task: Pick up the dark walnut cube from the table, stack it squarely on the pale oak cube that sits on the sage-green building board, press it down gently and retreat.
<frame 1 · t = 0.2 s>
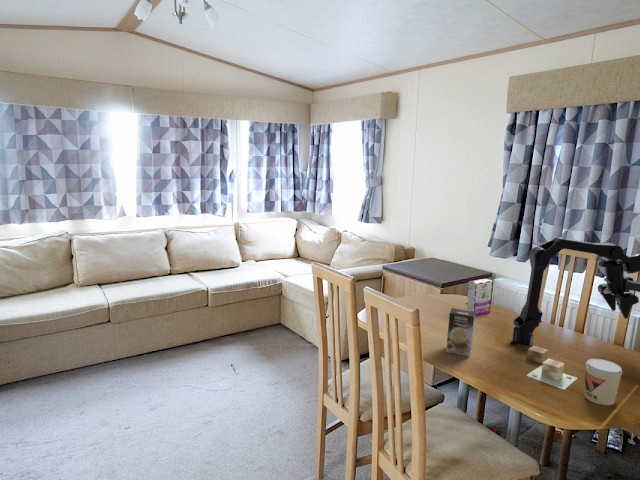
hand: (619, 314, 169), 15 cm above the table, tool pointing down, fingers open, 9 cm apart
coffee box: (458, 352, 168), on the table
candy bar box: (477, 313, 212), on the table
cream tub with lid: (598, 401, 135), on the table
walnut block: (536, 362, 161), on the table
oak block: (551, 376, 148), point 1 cm above the table, touching building board
building board: (551, 379, 148), on the table
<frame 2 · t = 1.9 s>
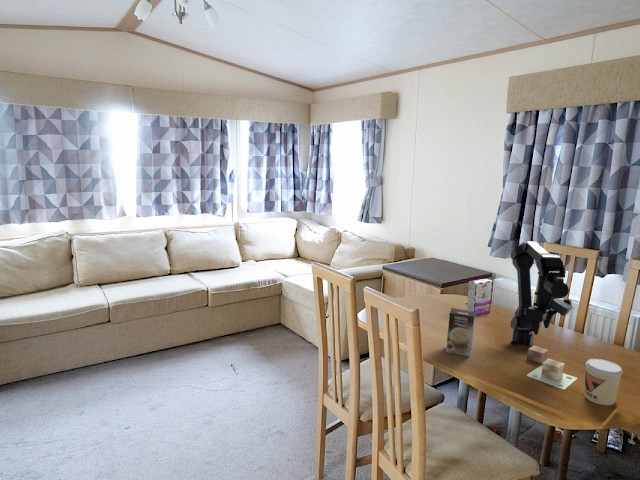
hand: (541, 331, 159), 12 cm above the table, tool pointing down, fingers open, 9 cm apart
nothing on the table moved.
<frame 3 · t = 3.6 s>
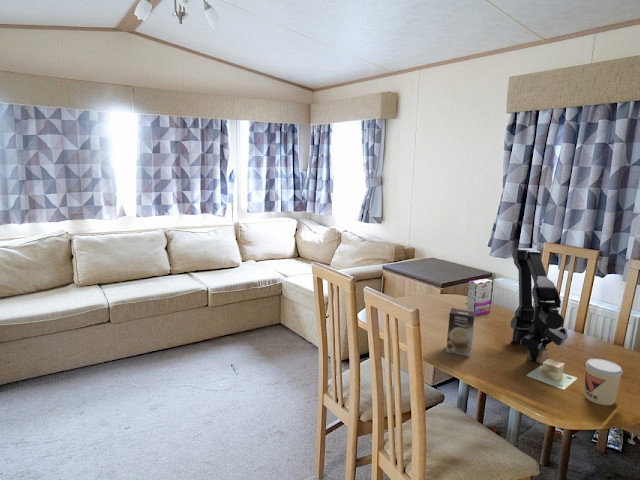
hand: (537, 359, 161), 1 cm above the table, tool pointing down, fingers closed on walnut block, 5 cm apart
walnut block: (536, 361, 161), on the table, touching gripper
everything else where it was.
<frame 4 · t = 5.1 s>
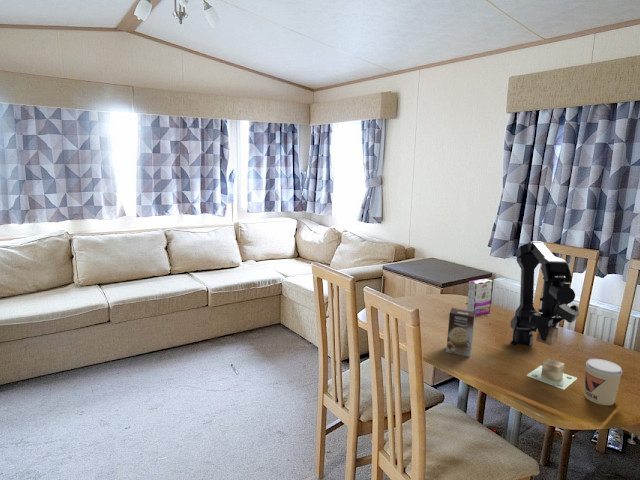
hand: (546, 338, 153), 12 cm above the table, tool pointing down, fingers closed on walnut block, 5 cm apart
walnut block: (546, 341, 153), point 11 cm above the table, touching gripper
everything else where it was.
when the fingers open (8 cm above the table, at t = 6.5 s): walnut block drops 1 cm, resting on oak block.
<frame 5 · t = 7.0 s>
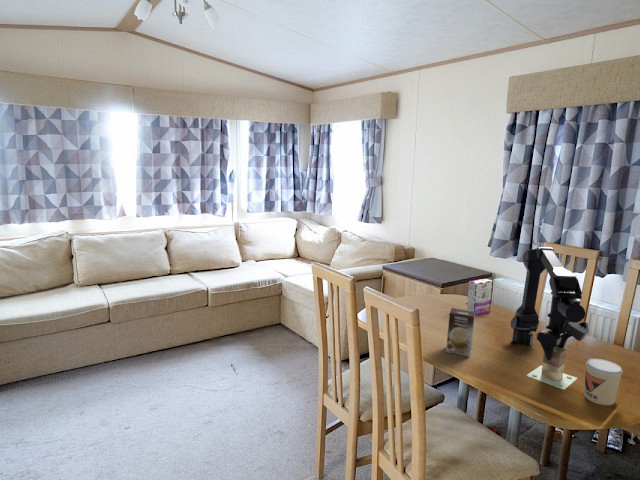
hand: (554, 356, 146), 8 cm above the table, tool pointing down, fingers open, 9 cm apart
walnut block: (553, 362, 147), point 6 cm above the table, touching oak block
oak block: (551, 376, 148), point 1 cm above the table, touching building board, walnut block
everything else where it was.
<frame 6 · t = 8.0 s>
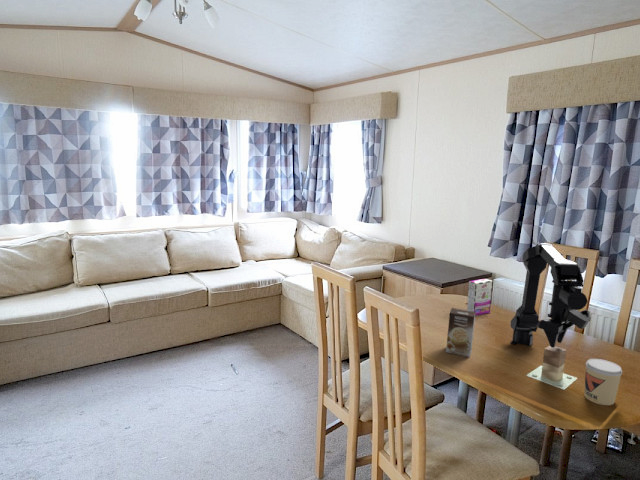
hand: (556, 344, 146), 12 cm above the table, tool pointing down, fingers open, 6 cm apart
nothing on the table moved.
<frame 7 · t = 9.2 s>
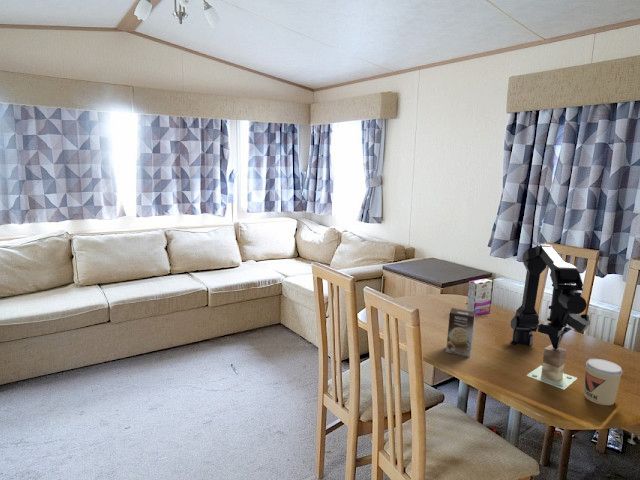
hand: (555, 348, 146), 11 cm above the table, tool pointing down, fingers closed
nothing on the table moved.
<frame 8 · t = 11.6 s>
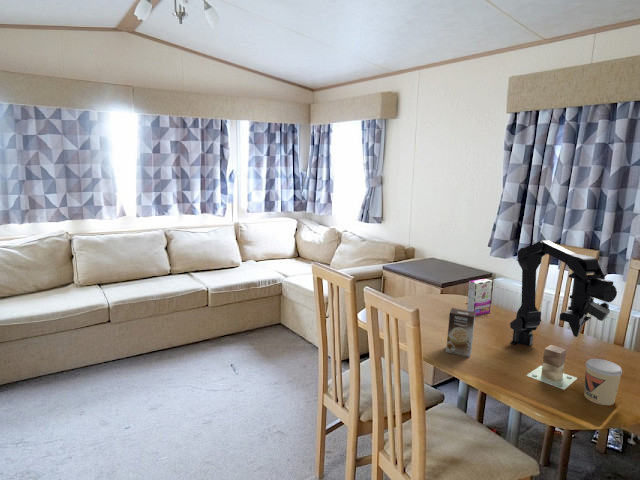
hand: (575, 336, 152), 13 cm above the table, tool pointing down, fingers closed
nothing on the table moved.
at the end: walnut block 0.0 cm off-centre on the oak block, point 5.0 cm above the oak block's base; walnut block tilted 0°; oak block moved 0.0 cm from its start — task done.
